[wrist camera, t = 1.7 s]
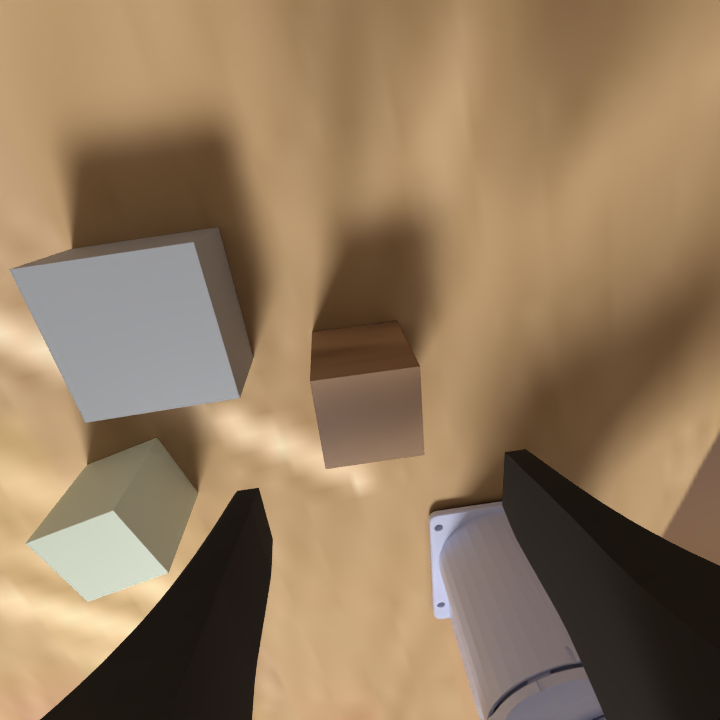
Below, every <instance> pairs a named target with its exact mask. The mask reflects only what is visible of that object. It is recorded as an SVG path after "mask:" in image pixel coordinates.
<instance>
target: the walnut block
mask: <svg viewBox="0 0 720 720" xmlns="http://www.w3.org/2000/svg"><path fill="white" fill-rule="evenodd" d="M310 384H311V389H312V395H313V400H314V406H315V412H316V417H317V423H318V428H319V434H320V440H321V445H322V451H323V457H324V462H325V468H326V469H329V468H336V467H343V466H350V465H357V464H364V463H371V462H378V461H385V460H392V459H399V458H406V457H413V456H420V455H424V438H423V418H422V397H421V377H420V365H419V363H418V361H417V359H416V358H415V356H414V354H413V352H412V350H411V348H410V346H409V344H408V342H407V340H406V338H405V336H404V334H403V332H402V330H401V328H400V326H399V324H398V322H397V321H391V322H383V323H375V324H368V325H360V326H353V327H345V328H337V329H330V330H322V331H314V332H312V348H311V372H310Z"/></svg>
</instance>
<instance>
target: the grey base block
mask: <svg viewBox="0 0 720 720" xmlns="http://www.w3.org/2000/svg"><path fill="white" fill-rule="evenodd" d="M9 270H10V272H11V274H12V276H13V278H14V280H15V282H16V284H17V286H18V288H19V290H20V292H21V294H22V296H23V298H24V300H25V302H26V304H27V306H28V308H29V310H30V312H31V314H32V316H33V318H34V320H35V322H36V324H37V326H38V328H39V330H40V332H41V334H42V336H43V338H44V340H45V342H46V344H47V346H48V348H49V350H50V352H51V354H52V356H53V359H54V361H55V363H56V365H57V367H58V369H59V371H60V373H61V375H62V377H63V379H64V381H65V383H66V385H67V387H68V389H69V391H70V393H71V395H72V397H73V399H74V401H75V403H76V405H77V407H78V409H79V411H80V413H81V415H82V417H83V419H84V421H85V423H87V422H93V421H100V420H106V419H112V418H118V417H125V416H131V415H137V414H144V413H150V412H156V411H162V410H169V409H175V408H181V407H188V406H194V405H200V404H206V403H213V402H219V401H225V400H232V399H238V398H240V396H241V393H242V390H243V387H244V384H245V381H246V378H247V375H248V373H249V370H250V367H251V364H252V361H253V354H252V350H251V347H250V343H249V339H248V335H247V332H246V328H245V324H244V320H243V317H242V313H241V309H240V305H239V302H238V298H237V294H236V290H235V287H234V283H233V279H232V275H231V272H230V268H229V264H228V260H227V256H226V253H225V249H224V245H223V241H222V238H221V234H220V230H219V227H216V228H209V229H202V230H196V231H189V232H182V233H175V234H168V235H162V236H155V237H148V238H141V239H135V240H128V241H121V242H114V243H108V244H101V245H94V246H87V247H81V248H74V249H70V250H67V251H64V252H61V253H58V254H55V255H52V256H49V257H46V258H43V259H40V260H37V261H34V262H31V263H28V264H25V265H22V266H19V267H15V268H12V269H9Z"/></svg>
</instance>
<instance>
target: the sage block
mask: <svg viewBox="0 0 720 720" xmlns="http://www.w3.org/2000/svg"><path fill="white" fill-rule="evenodd" d="M197 495H198V492H197V491H196V489H195V488H194V486H193V485H192V484H191V482H190V481H189V480H188V478H187V477H186V476H185V474H184V473H183V472H182V470H181V469H180V468H179V466H178V465H177V464H176V462H175V461H174V460H173V458H172V457H171V456H170V454H169V453H168V452H167V450H166V449H165V448H164V446H163V445H162V444H161V442H160V441H159V439H158V438H154V439H152V440H149V441H147V442H144V443H142V444H139V445H136V446H134V447H131V448H129V449H126V450H124V451H121V452H118V453H116V454H113V455H111V456H108V457H106V458H103V459H100V460H98V461H95V462H93V463H90V464H87V466H86V467H85V468H84V469H83V471H82V472H81V473H80V475H79V476H78V477H77V478H76V480H75V481H74V482H73V484H72V485H71V486H70V487H69V489H68V490H67V491H66V492H65V494H64V495H63V496H62V498H61V499H60V500H59V501H58V503H57V504H56V505H55V507H54V508H53V509H52V510H51V512H50V513H49V514H48V515H47V517H46V518H45V519H44V521H43V522H42V523H41V524H40V526H39V527H38V528H37V530H36V531H35V532H34V533H33V535H32V536H31V537H30V539H29V540H28V541H27V542H26V544H27V545H28V546H29V547H30V548H31V549H32V550H33V551H34V552H35V553H36V554H37V555H38V556H40V557H41V558H42V559H43V560H44V561H45V562H46V563H47V564H48V565H49V566H50V567H51V568H52V569H53V570H55V571H56V572H57V573H58V574H59V575H60V576H61V577H62V578H63V579H64V580H65V581H66V582H67V583H68V584H70V585H71V586H72V587H73V588H74V589H75V590H76V591H77V592H78V593H79V594H80V595H81V596H82V597H83V598H84V599H86V600H87V601H88V602H89V601H92V600H95V599H97V598H100V597H103V596H106V595H108V594H111V593H114V592H117V591H120V590H122V589H125V588H128V587H131V586H133V585H136V584H139V583H142V582H145V581H147V580H150V579H153V578H156V577H158V576H161V575H164V574H167V573H169V570H170V567H171V565H172V562H173V559H174V557H175V554H176V551H177V549H178V546H179V543H180V541H181V538H182V535H183V532H184V530H185V527H186V524H187V522H188V519H189V516H190V514H191V511H192V508H193V506H194V503H195V500H196V498H197Z"/></svg>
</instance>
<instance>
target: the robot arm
mask: <svg viewBox="0 0 720 720" xmlns="http://www.w3.org/2000/svg"><path fill="white" fill-rule="evenodd" d="M436 525H439V526H436ZM429 538H430V559H431V580H432V601H433V613H434V616H435V617H436V618H438V619H444V618H450V619H451V623H452V626H453V630H454V633H455V637H456V640H457V644H458V647H459V650H460V654H461V657H462V661H463V664H464V668H465V671H466V674H467V678H468V681H469V685H470V688H471V692H472V695H473V699H474V702H475V705H476V709H477V711H478V714H479V716H480V719H481V720H720V566H719V565H717V564H715V563H712V562H710V561H708V560H706V559H704V558H702V557H700V556H697V555H695V554H693V553H691V552H689V551H687V550H685V549H683V548H681V547H679V546H677V545H675V544H673V543H671V542H669V541H667V540H665V539H663V538H662V537H660V536H658V535H656V534H654V533H652V532H650V531H649V530H647V529H645V528H643V527H641V526H640V525H638V524H636V523H634V522H633V521H631V520H629V519H627V518H626V517H624V516H623V515H621V514H619V513H618V512H616V511H614V510H613V509H611V508H610V507H608V506H606V505H605V504H603V503H602V502H600V501H599V500H597V499H595V498H594V497H592V496H591V495H589V494H588V493H586V492H585V491H584V490H582V489H581V488H579V487H578V486H576V485H575V484H573V483H572V482H570V481H569V480H568V479H566V478H565V477H563V476H562V475H561V474H559V473H558V472H556V471H555V470H554V469H552V468H551V467H549V466H548V465H547V464H545V463H544V462H543V461H541V460H540V459H538V458H537V457H536V456H534V455H533V454H531V453H530V452H529V451H527V450H526V449H524V450H517V451H510V452H505V461H504V479H503V497H502V501H500V502H494V503H487V504H480V505H473V506H467V507H460V508H453V509H446V510H440V511H435V512H433V513H431V514H430V515H429ZM272 544H273V539H272V535H271V531H270V528H269V524H268V520H267V517H266V513H265V509H264V505H263V502H262V498H261V494H260V491H259V488H255V489H248V490H241V491H237V492H236V493H235V495H234V496H233V498H232V499H231V501H230V502H229V504H228V506H227V507H226V509H225V510H224V512H223V514H222V515H221V517H220V518H219V520H218V521H217V523H216V525H215V526H214V528H213V529H212V531H211V532H210V534H209V535H208V537H207V538H206V539H205V541H204V542H203V544H202V545H201V547H200V548H199V550H198V551H197V553H196V554H195V555H194V557H193V558H192V560H191V561H190V562H189V564H188V565H187V566H186V568H185V569H184V570H183V572H182V573H181V574H180V576H179V577H178V578H177V580H176V581H175V582H174V584H173V585H172V586H171V587H170V589H169V590H168V591H167V592H166V594H165V595H164V596H163V597H162V599H161V600H160V601H159V602H158V603H157V604H156V606H155V607H154V608H153V609H152V610H151V611H150V613H149V614H148V615H147V616H146V617H145V618H144V620H143V621H142V622H141V623H140V624H139V625H138V626H137V627H136V628H135V629H134V630H133V632H132V633H131V634H130V635H129V636H128V637H127V638H126V639H125V640H124V641H123V642H122V643H121V644H120V645H119V646H118V647H117V648H116V649H115V650H114V651H113V652H112V653H111V654H110V655H109V656H108V657H107V659H106V660H105V661H104V662H103V663H102V664H101V665H100V666H99V667H97V668H96V669H95V670H94V671H93V672H92V673H91V674H90V675H89V676H88V677H87V678H86V679H85V680H84V681H83V682H82V683H81V684H80V685H78V686H77V687H76V688H75V689H74V690H73V691H72V692H71V693H70V694H69V695H67V696H66V697H65V698H64V699H63V700H62V701H61V702H60V703H59V704H58V705H56V706H55V707H54V708H53V709H52V710H51V711H50V712H48V713H47V714H46V715H45V716H44V717H43V718H42V719H40V720H252V711H253V697H254V684H255V675H256V667H257V659H258V653H259V647H260V641H261V635H262V629H263V623H264V617H265V610H266V604H267V598H268V592H269V585H270V579H271V567H272Z"/></svg>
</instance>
